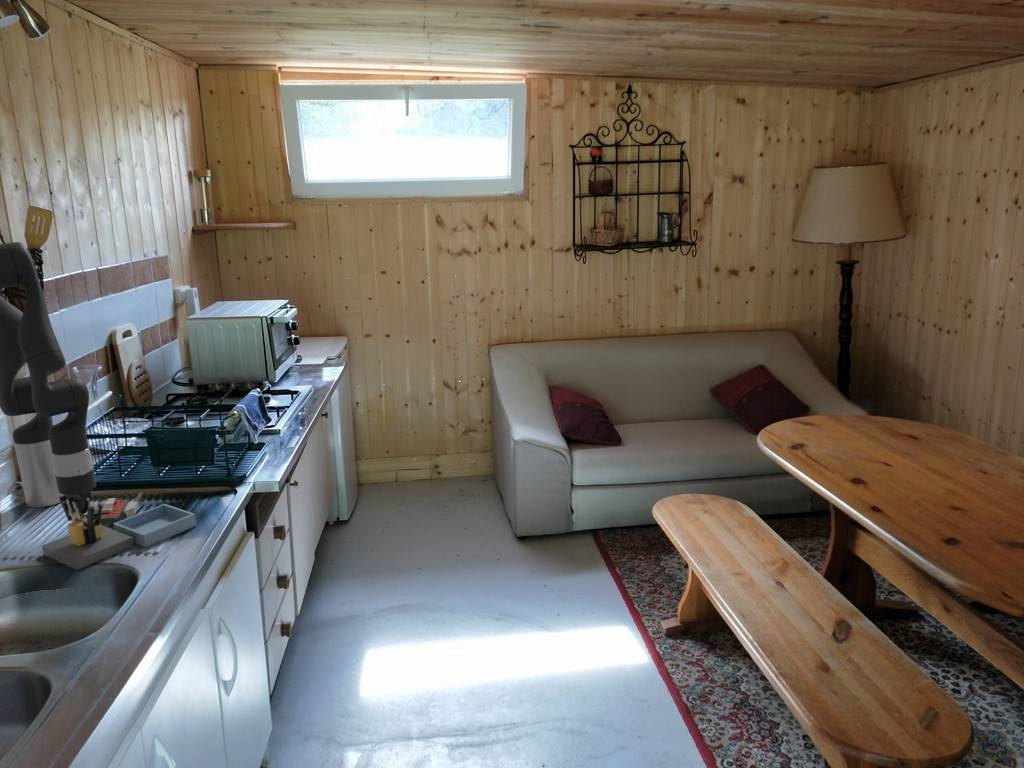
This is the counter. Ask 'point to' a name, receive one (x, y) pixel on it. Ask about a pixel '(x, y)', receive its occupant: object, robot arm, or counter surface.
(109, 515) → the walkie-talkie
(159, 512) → the tray
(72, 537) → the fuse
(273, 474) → the counter surface
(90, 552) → the grey slotted base
